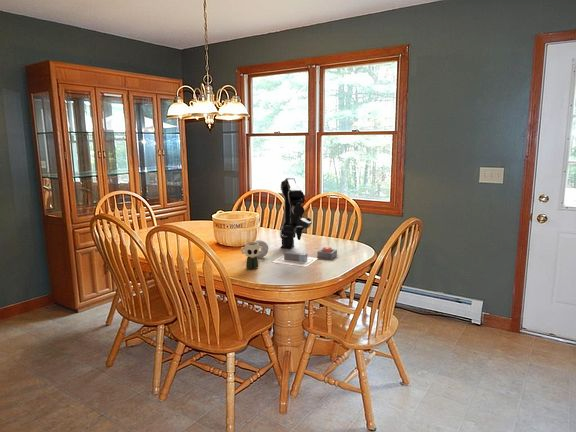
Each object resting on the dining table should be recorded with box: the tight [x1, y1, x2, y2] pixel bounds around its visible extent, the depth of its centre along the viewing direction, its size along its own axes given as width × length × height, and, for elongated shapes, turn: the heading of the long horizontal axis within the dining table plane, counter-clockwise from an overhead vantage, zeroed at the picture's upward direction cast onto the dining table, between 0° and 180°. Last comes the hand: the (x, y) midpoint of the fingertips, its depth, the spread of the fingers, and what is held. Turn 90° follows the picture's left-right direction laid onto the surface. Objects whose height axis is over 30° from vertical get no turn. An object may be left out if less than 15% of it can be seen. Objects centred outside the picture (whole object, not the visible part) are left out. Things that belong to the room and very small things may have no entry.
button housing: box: [316, 247, 338, 260], centre depth 237 cm, size 8×8×4 cm
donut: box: [254, 239, 269, 259], centre depth 234 cm, size 10×3×10 cm, turn 99°
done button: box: [322, 246, 333, 253], centre depth 236 cm, size 5×5×4 cm
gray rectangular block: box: [283, 251, 308, 262], centre depth 230 cm, size 12×4×4 cm, turn 64°
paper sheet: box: [272, 254, 320, 268], centre depth 230 cm, size 20×17×1 cm
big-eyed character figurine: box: [240, 241, 263, 270], centre depth 216 cm, size 11×7×13 cm, turn 101°
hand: (295, 241), depth 228 cm, fingers open, 9 cm apart
